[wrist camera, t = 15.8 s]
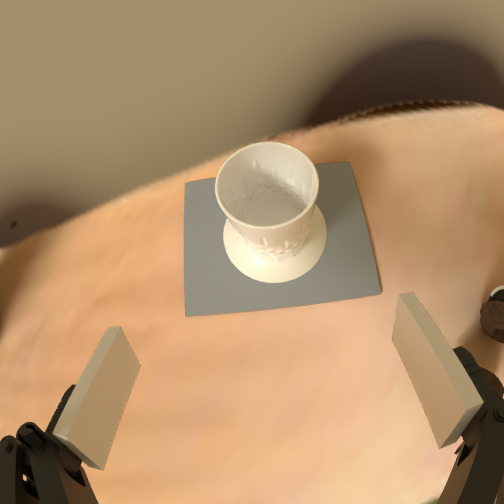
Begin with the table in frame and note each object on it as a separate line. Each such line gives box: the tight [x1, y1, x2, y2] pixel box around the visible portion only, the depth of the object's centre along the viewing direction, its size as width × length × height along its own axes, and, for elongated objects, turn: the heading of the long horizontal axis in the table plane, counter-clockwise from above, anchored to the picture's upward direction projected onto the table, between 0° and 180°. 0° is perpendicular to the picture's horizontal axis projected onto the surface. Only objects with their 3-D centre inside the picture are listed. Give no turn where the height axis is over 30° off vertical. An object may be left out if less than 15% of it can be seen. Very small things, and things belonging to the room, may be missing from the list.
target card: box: [184, 162, 381, 317], centre depth 32 cm, size 20×16×1 cm
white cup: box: [215, 142, 319, 263], centre depth 27 cm, size 8×8×10 cm
